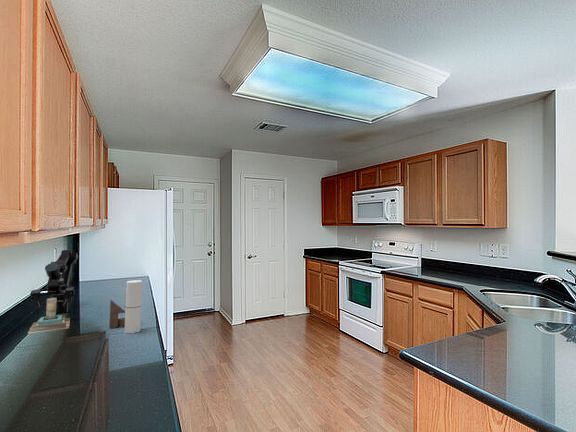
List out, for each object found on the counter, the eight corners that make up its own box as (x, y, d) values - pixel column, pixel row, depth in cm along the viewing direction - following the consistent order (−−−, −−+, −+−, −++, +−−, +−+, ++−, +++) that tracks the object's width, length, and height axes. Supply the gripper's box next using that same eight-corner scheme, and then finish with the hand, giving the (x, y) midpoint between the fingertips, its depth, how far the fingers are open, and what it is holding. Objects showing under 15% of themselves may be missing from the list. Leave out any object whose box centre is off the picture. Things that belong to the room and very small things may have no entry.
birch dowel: (47, 323, 160) (49, 297, 161) (56, 322, 161) (58, 297, 162) (43, 325, 156) (45, 299, 157) (53, 325, 157) (54, 299, 158)
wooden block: (109, 326, 162) (110, 292, 163) (131, 323, 168) (133, 290, 169) (109, 328, 159) (111, 293, 160) (133, 325, 165) (134, 291, 166)
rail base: (33, 324, 164) (33, 317, 164) (70, 319, 173) (70, 313, 173) (27, 335, 147) (27, 328, 147) (68, 329, 156) (68, 323, 156)
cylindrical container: (124, 334, 151) (126, 282, 152) (124, 330, 157) (126, 280, 158) (140, 332, 154) (142, 282, 155) (140, 328, 160) (141, 279, 161)
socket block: (40, 325, 160) (40, 317, 160) (61, 322, 165) (62, 314, 165) (38, 330, 152) (38, 321, 153) (60, 327, 157) (61, 319, 157)
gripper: (31, 274, 161) (27, 300, 151) (75, 272, 171) (73, 296, 162) (33, 287, 167) (29, 312, 158) (75, 284, 178) (73, 308, 168)
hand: (51, 307), depth 161 cm, fingers open, 9 cm apart
